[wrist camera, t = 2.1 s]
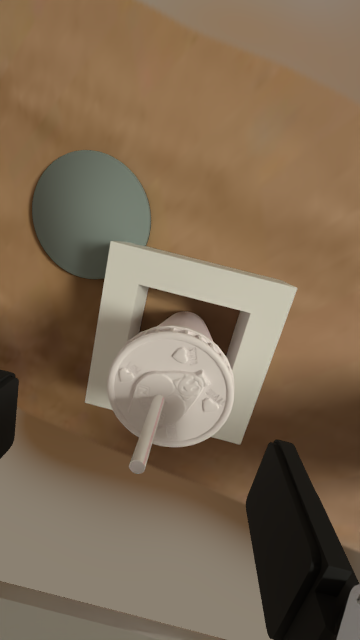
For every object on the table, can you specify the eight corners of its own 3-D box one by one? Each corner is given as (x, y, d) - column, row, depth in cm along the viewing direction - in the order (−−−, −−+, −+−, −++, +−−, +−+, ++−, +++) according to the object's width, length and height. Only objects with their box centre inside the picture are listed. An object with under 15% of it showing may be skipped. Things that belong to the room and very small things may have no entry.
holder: (280, 280, 21) (297, 287, 17) (235, 413, 24) (240, 444, 20) (128, 241, 21) (110, 241, 17) (104, 377, 24) (84, 402, 21)
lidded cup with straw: (132, 317, 23) (22, 421, 9) (201, 280, 21) (189, 338, 8) (170, 380, 24) (122, 554, 10) (238, 348, 22) (282, 502, 9)
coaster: (162, 169, 20) (161, 166, 19) (138, 290, 22) (136, 291, 21) (42, 139, 20) (37, 136, 19) (32, 263, 22) (27, 263, 22)
